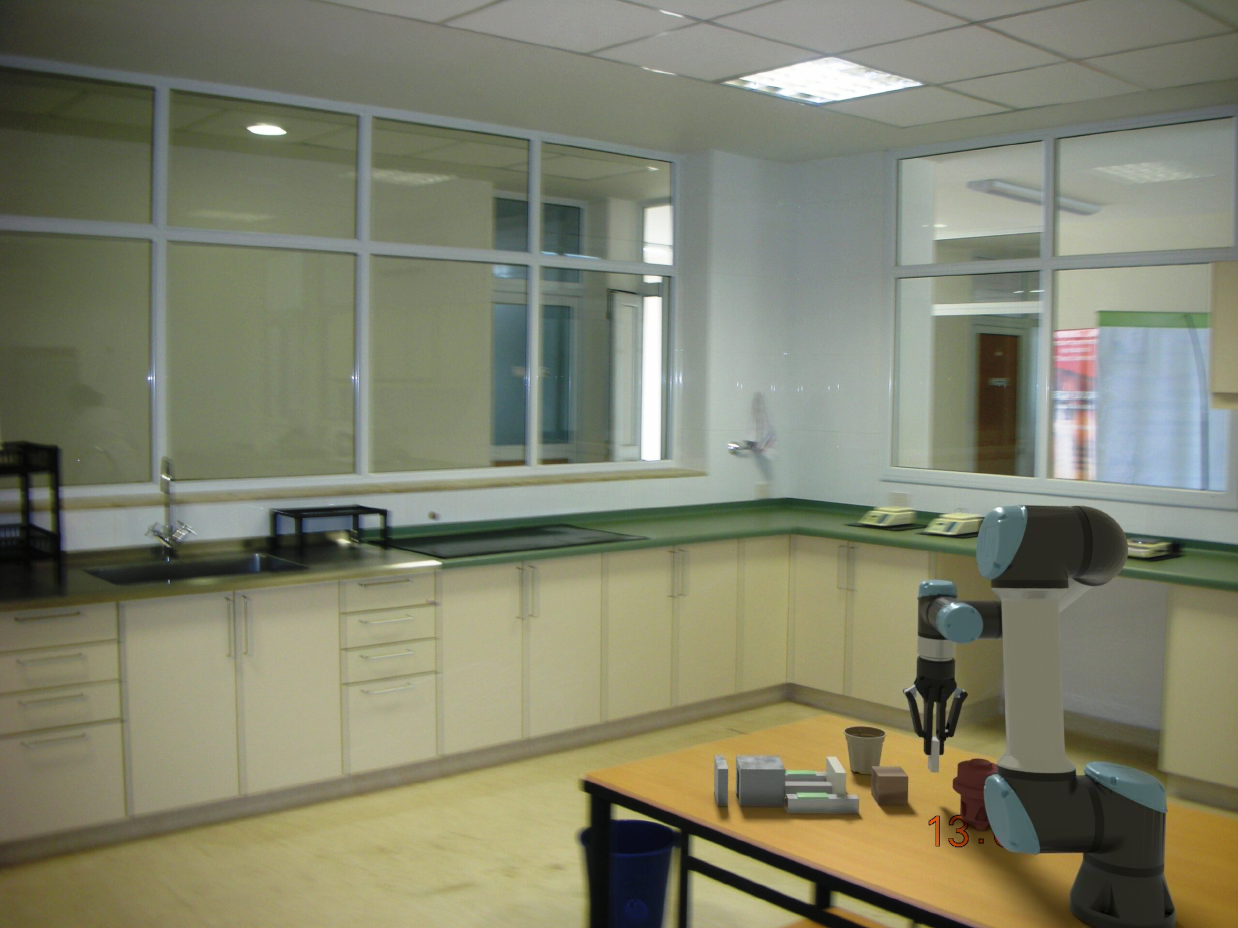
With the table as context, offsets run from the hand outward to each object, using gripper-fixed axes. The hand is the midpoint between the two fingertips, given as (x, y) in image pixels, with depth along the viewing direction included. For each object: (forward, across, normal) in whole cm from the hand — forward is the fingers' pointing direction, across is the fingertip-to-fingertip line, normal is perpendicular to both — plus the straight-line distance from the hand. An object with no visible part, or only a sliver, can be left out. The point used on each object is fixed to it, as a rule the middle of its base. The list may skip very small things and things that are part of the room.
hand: (933, 769), depth 218 cm
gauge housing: (+6, +31, 0) cm, 31 cm away
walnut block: (+6, +9, 0) cm, 11 cm away
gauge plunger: (+6, +26, 0) cm, 27 cm away
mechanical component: (+6, -5, +13) cm, 16 cm away
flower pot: (+7, +10, -18) cm, 21 cm away
